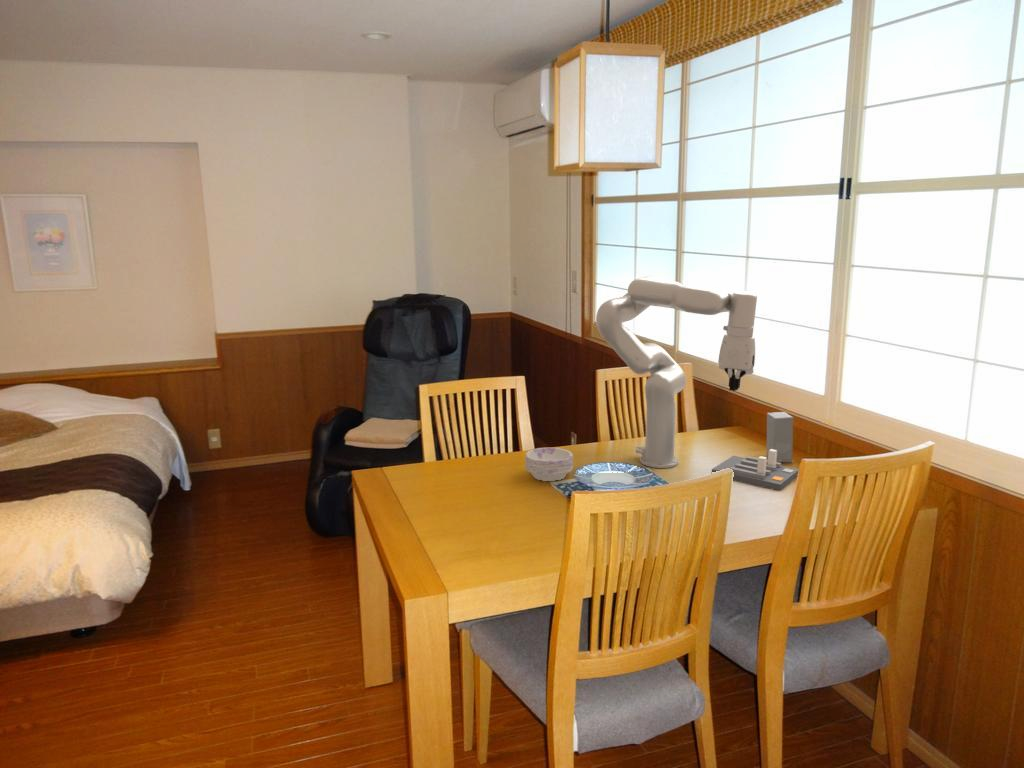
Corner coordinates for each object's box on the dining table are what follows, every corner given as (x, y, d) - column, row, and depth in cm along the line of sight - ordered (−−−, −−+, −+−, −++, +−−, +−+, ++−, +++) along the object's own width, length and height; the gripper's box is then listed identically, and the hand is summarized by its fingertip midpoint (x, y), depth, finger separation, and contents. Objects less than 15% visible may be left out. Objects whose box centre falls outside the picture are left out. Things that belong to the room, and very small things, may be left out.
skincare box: (792, 463, 248) (796, 417, 244) (771, 463, 248) (774, 417, 244) (784, 454, 256) (787, 410, 252) (763, 455, 256) (766, 410, 252)
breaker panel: (711, 475, 237) (711, 465, 236) (733, 461, 250) (733, 452, 249) (779, 490, 224) (780, 480, 223) (798, 475, 236) (799, 465, 236)
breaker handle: (767, 467, 237) (768, 450, 236) (769, 465, 239) (770, 448, 238) (773, 468, 236) (774, 451, 235) (775, 466, 238) (777, 450, 236)
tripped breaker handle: (756, 474, 231) (758, 457, 229) (759, 473, 232) (760, 456, 231) (763, 476, 229) (764, 459, 228) (765, 474, 231) (766, 457, 230)
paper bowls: (552, 465, 247) (552, 443, 245) (582, 478, 235) (583, 454, 233) (515, 475, 238) (515, 452, 237) (545, 489, 226) (545, 464, 225)
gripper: (711, 329, 227) (706, 387, 232) (759, 337, 218) (752, 396, 223) (722, 327, 233) (716, 383, 237) (768, 333, 224) (761, 392, 228)
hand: (733, 389), depth 230 cm, fingers closed
